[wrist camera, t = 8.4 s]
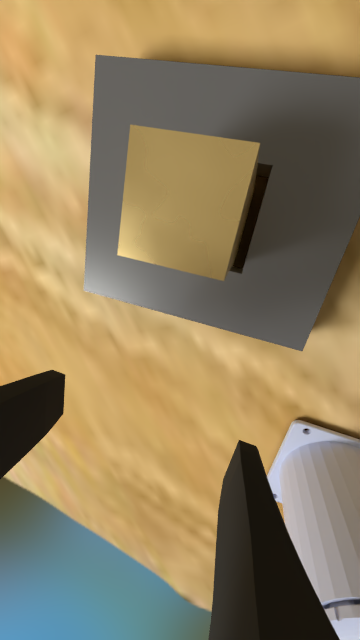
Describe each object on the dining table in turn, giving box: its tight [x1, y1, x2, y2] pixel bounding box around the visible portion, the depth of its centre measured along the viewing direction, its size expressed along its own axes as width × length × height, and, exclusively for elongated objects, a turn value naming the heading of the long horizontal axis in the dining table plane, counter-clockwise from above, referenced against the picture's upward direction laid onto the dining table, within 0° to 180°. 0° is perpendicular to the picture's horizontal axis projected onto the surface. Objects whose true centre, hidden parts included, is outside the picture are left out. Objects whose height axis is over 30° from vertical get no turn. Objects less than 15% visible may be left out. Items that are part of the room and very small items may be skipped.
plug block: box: [117, 125, 260, 281], centre depth 12 cm, size 4×4×8 cm
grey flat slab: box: [84, 55, 360, 351], centre depth 14 cm, size 14×12×2 cm
